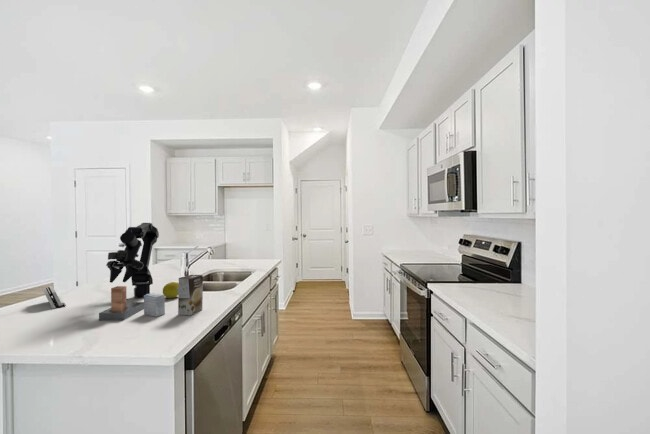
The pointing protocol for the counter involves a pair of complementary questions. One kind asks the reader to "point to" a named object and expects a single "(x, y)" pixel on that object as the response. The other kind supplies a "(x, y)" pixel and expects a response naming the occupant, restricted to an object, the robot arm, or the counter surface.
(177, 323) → the counter surface
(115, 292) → the square peg
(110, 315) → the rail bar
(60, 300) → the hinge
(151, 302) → the medicine box
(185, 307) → the coffee box
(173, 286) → the lemon
